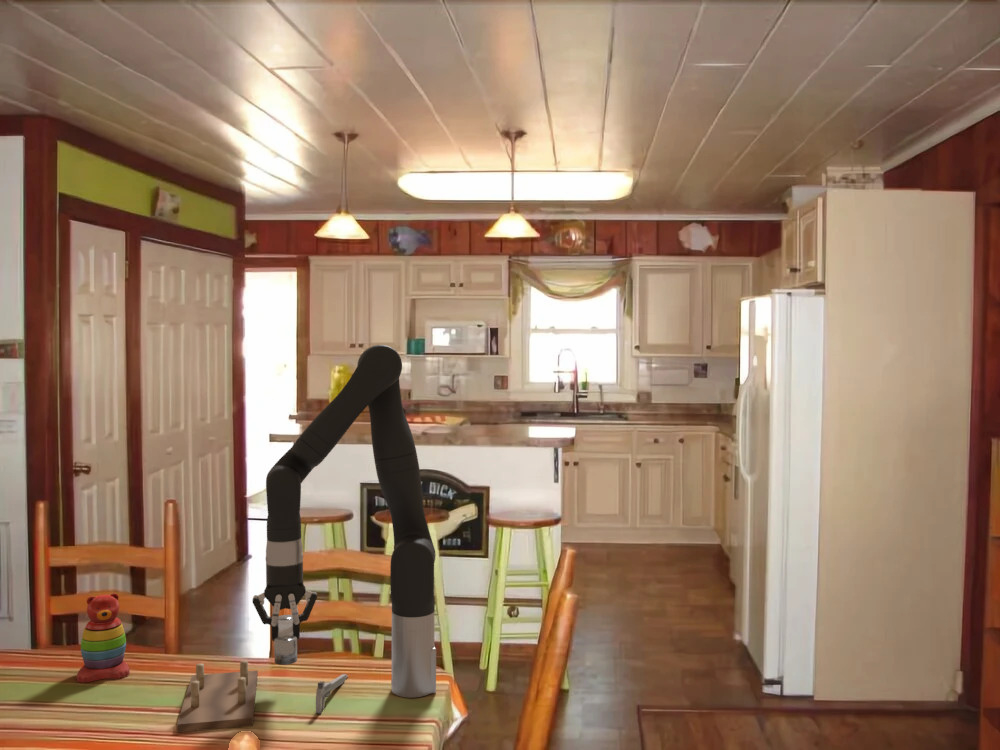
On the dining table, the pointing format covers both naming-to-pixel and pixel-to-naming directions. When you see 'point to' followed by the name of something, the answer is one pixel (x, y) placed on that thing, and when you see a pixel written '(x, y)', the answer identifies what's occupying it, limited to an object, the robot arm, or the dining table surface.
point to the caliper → (327, 691)
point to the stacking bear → (103, 641)
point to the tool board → (219, 700)
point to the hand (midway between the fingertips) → (285, 641)
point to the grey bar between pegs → (285, 642)
